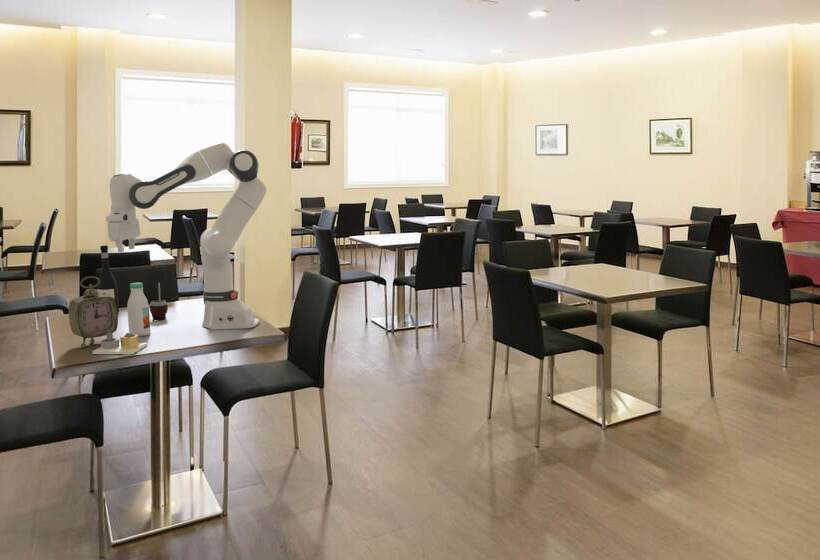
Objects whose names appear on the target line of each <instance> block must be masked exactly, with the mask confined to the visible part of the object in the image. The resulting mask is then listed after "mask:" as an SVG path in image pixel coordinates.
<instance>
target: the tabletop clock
mask: <svg viewBox="0 0 820 560" xmlns="http://www.w3.org/2000/svg"><path fill="white" fill-rule="evenodd" d="M99 278H100V277H97V276H91V275H90V276H89V275H88V276H85V277H84V278H82V279H81V281H80V286H81V287H82V288H83V289H86V290H85V291H84V293H83V294H82V296H77V297H74V298H72V299H70V301H69V304H68V321H69V326H70V330H71V332H72V334H73V335H76V336H78V337H81V338H82V339H83V340H82V343H81V345H80V348H82V349H84V348H86V346H87V345H86V341H87V339H90V340H89V343H91V344H94V343H95V342H96V341H95V339H94V338H100V337H103V336H104V337H105V336H106V333H110V332H111V333H115V332H117V329H118V325H119V312H118V311H117V305H116V302H115V300H114V298H112V297H109V296H105V295H100V294H99V292H98V291H97V289H95V288H97V286H98V285H99V283H100V280H99ZM89 279H95V280H97V284H95V285H93V284H92V283H89V284H88V285H87V286H86V285H83V282H84V281H85V280H89ZM98 281H99V282H98Z"/></svg>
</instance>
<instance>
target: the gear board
mask: <svg viewBox="0 0 820 560" xmlns="http://www.w3.org/2000/svg"><path fill="white" fill-rule="evenodd" d="M125 335H126V337H132V333H129V332H126V333H125ZM105 336H106V338H103V339H102V340H100V347H98V348H96V349H95V350H92V355H93V354H133V353H135V352H137V351H138V352H140V351H141V350H140V349H142V348H143V349H145V348H146V347H147V346H148V343H147V342H139V347H137V348H133V349H122V348H121V342H120V339H119V338H117V337H113V333H111V332H110V333H106V335H105ZM145 346H146V347H145ZM144 347H145V348H144ZM143 349H142V350H143ZM139 350H140V351H139ZM138 352H137V353H138ZM135 354H136V353H135ZM133 355H134V354H133Z"/></svg>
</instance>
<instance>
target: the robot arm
mask: <svg viewBox="0 0 820 560" xmlns="http://www.w3.org/2000/svg"><path fill="white" fill-rule="evenodd" d="M225 170H226V171H228V172H229V173H231V175H232V176H233V177H234V178H236V179H237V180H238V181H239V183H238V186H237V188H236V189H235V191H234V193H233V194H232V195H231V197H230V198H229V200H228V201H227V202H226V203H225V205H224V206H223V208H222V209H221V210H220V212H219V215H218V217H217V218H216V220H215V222H214V223H213V225H212V227H209V228H207V229H205V230H204V231H203V232H202V234H201V235H200V239H199V242H200V254H201V264H202V270H203V273H202V274H203V284H204V285H203V286H204V287H203V288H204V290H203V295H202V297H203V305H204V312H203V320H202V324H201V326H202V327H204V328H208V329H209V330H211V331H212V330H215V331H216V330H236V329H237V330H239V329H251V328H254V327H257V326H258V325H259V324H260V320H259V318H255V317H254V312H253V309H252V307H251V306H249V305H248V304H247V303H245V302H244V301H242V300H240V299H239V290H237V291H236V289H233V270H232V264H231V263H232V262H231V258H230V256H231V255H230V254H231V252H232V250H233V248H234V246H235V245H236V243H237V241H238V240H239V238H240V237H241V235H242V233H243V231H244V230H245V227H246V226H247V224H248V223H249V222H250V220H251V219H252V218H253V216H254V214H255V213H256V212H257V210H258V209H259V207H260V206H261V204H262V202H263V200H264V198H265V196H266V194H267V188H266V185H265V184H264V182H263V181H261V180H260V179H259V178H258V173H259V161H258V158H257V156H256V155H255V154H254V153H253V152H252V151H251V150H250V151H249V150H247V149H241V150H238V151H235V152H234V151H232V149H231V147H230V146H229V145H228V144H227V143H225V142H223V141H221V142H220V141H218V142H215V143H212V144H209V145H207V146H204V147H202V148H201V149H199V150H196V151H195V152H193V153H191V154H190V155H189V156H187V157H186V158H185V159H184V160H182V161H181V163H179V164H178V166H176V167H175V168H174V169H173V170H171V171H169V172H167V173H165V174H163V175H161V176H160V177H157V178H155V179H153V180H150V181H147V180H144V179H141V178H139V177H136V176H134V175H133V174H132V173H130V172H125V173H119V174H114V175H113V176H111V178H110V180H109V197H110V200H111V205H110V212H109V213H108V214H107V215H106V216H105V221H106V222H107V234H108V235H107V236H108V240H109V241H110V242H114V243H115V246H116V248H117V252H118V253H124V251H125V247H124V246H123V241H126V240H129V243H128V250H134V249H135V244H136V238H138V237H140V236H141V228H140V223H139V219H138V218H137V213H136V208H137V209H141V210H142V209H143V210H147V209H150V208H151V207H153V206H154V205H156V203H157V202H158V201H159V199H160V198H161V197H162V196H164V195H165V194H167V193H169V192H171V191H172V190H174V189H176V188H177V189H178V187H181V186H183V185H186V184H190V183H195V182H199V181H203V180H207V179H208V178H211V177H213V176H214V175H216V174H218V173H219V172H222V171H225Z"/></svg>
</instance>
